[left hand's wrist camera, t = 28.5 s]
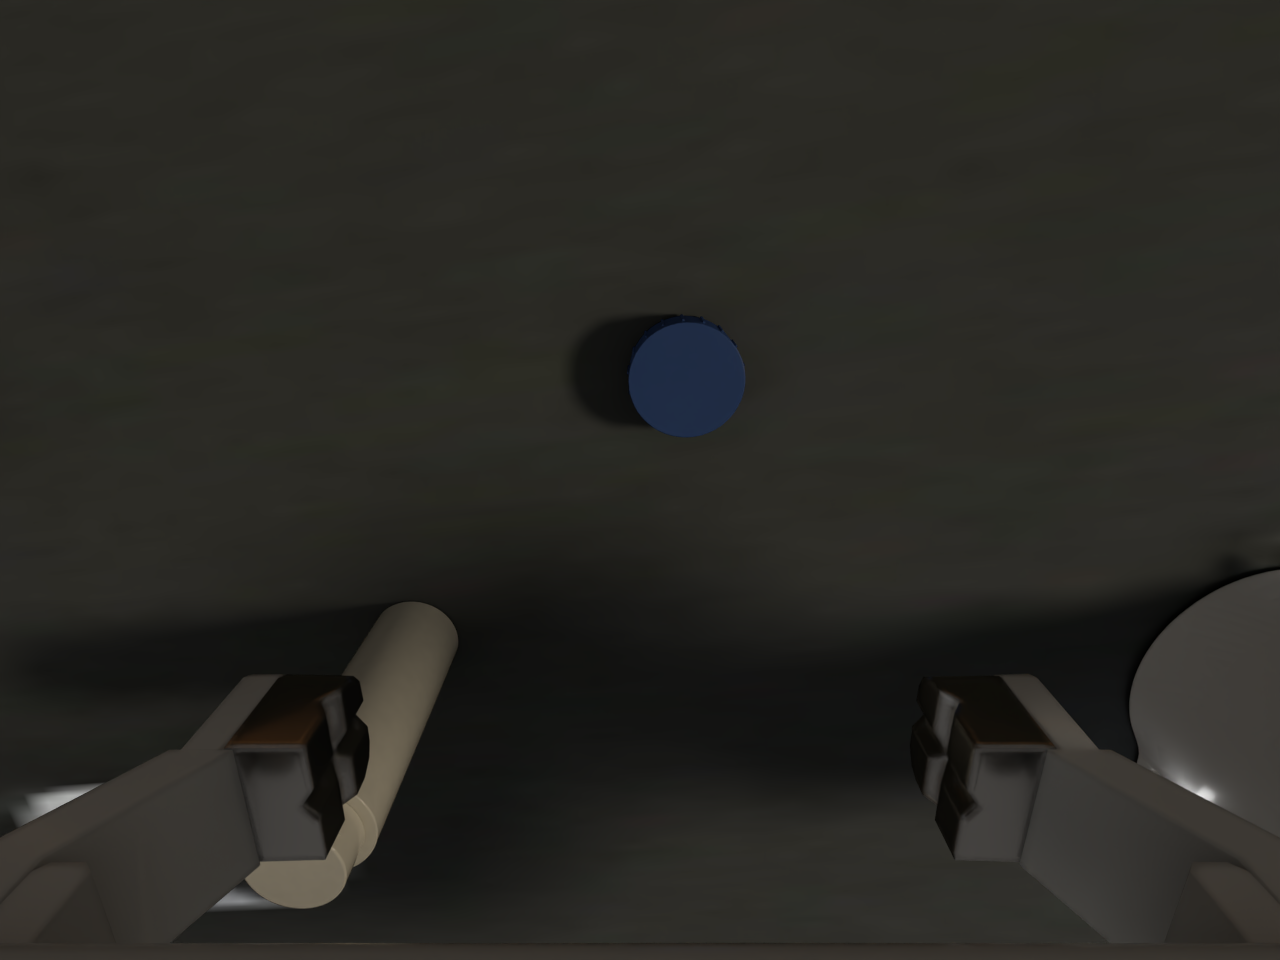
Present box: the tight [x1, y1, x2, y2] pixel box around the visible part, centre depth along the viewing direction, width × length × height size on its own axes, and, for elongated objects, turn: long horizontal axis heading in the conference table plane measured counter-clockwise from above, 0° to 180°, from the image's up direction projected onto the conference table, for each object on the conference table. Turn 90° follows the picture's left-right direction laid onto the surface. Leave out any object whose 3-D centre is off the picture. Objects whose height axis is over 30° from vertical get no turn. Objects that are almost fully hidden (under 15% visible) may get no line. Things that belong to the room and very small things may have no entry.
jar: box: [245, 602, 458, 909], centre depth 33 cm, size 5×5×15 cm
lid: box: [627, 314, 745, 437], centre depth 34 cm, size 6×6×2 cm
